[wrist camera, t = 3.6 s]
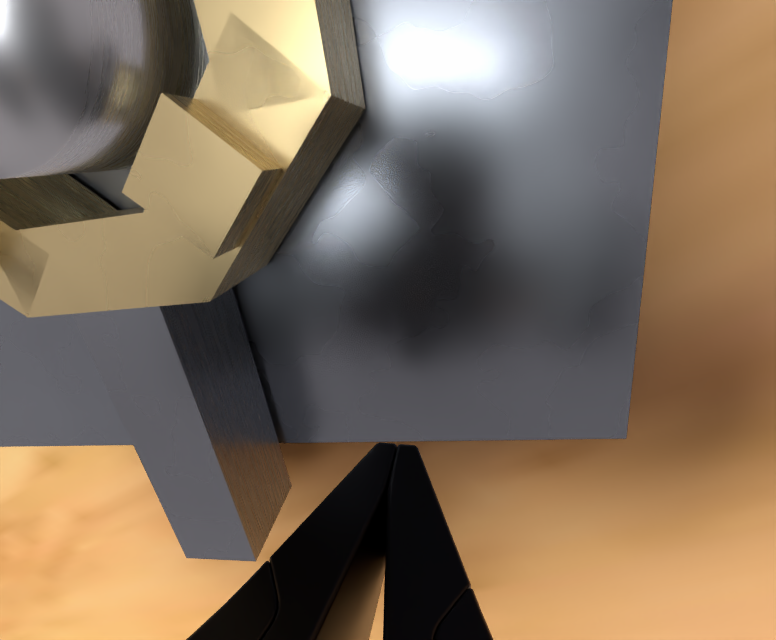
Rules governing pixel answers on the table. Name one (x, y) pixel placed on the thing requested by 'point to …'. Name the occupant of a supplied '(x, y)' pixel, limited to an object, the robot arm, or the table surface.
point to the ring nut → (196, 257)
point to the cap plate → (382, 217)
